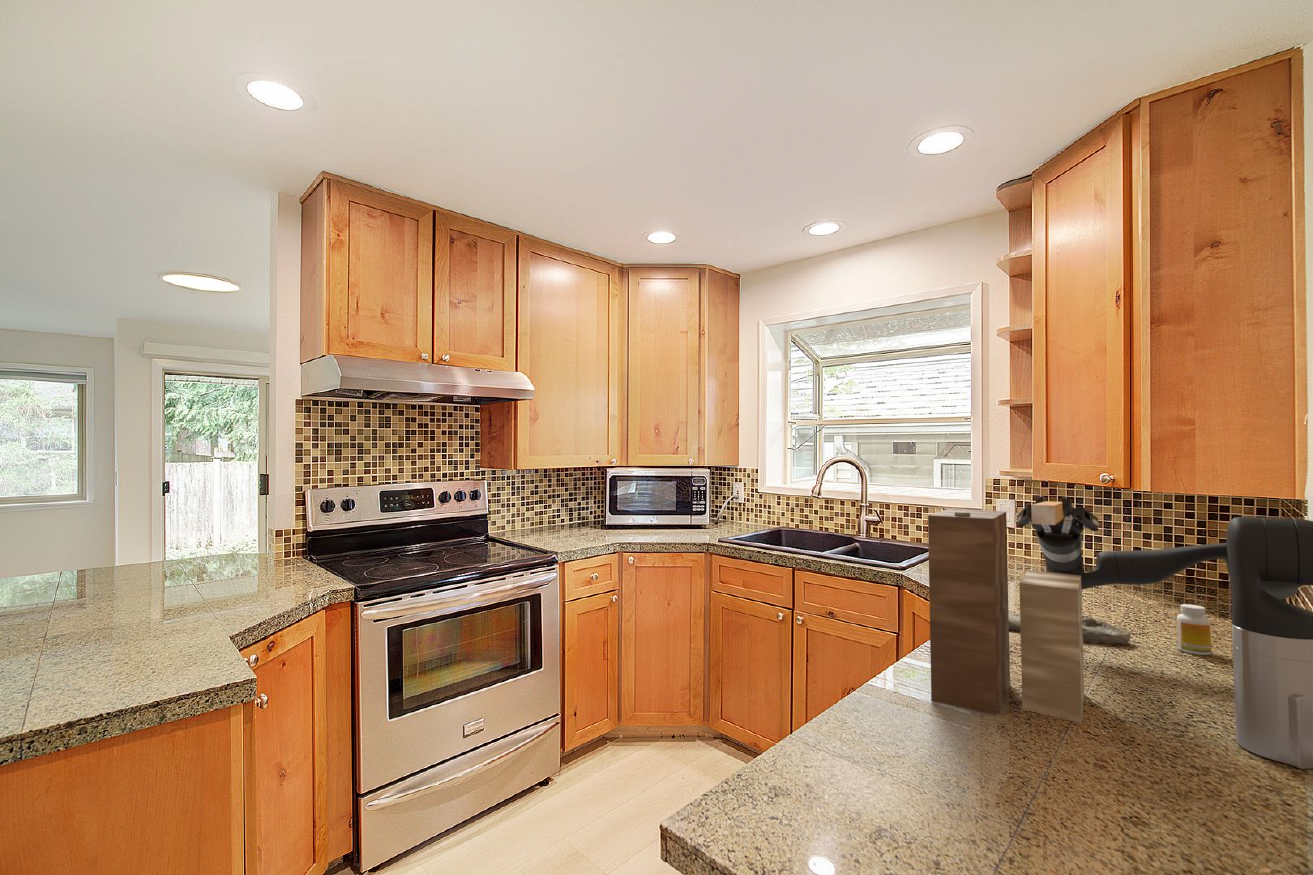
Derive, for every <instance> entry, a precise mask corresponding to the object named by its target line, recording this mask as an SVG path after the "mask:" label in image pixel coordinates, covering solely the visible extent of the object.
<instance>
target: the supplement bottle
mask: <svg viewBox="0 0 1313 875" xmlns="http://www.w3.org/2000/svg"><path fill="white" fill-rule="evenodd" d="M1180 612H1181V613H1180V614H1178V615H1177V616H1176V635H1177V640H1176V641H1177V649H1178V650H1179V651H1181V652H1184V653H1188V654H1191V655H1198V656H1210V655H1211V654H1212V638H1211V637H1212V635H1211V633H1212V632H1211V621H1210V619H1209V618H1208V617H1206V616H1205V615H1206V613H1207V612H1206V608H1205V607H1204V606H1201V605H1196V604H1188V603H1183V604H1180Z"/></svg>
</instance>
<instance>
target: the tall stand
mask: <svg viewBox="0 0 1313 875" xmlns="http://www.w3.org/2000/svg"><path fill="white" fill-rule="evenodd" d="M1007 524H1008V522H1007V511H1005V510H1003V511H1002V510H1001V511H1000V510H999V511H997V510H981V509H979V510H977V509H958V508H957V509H956V508H946V509H943V510H940V511H937V512H934V513H931V514H928V515H927V529H928V530H927V532H928V534H927V537H928V541H927V542H928V582H929V583H928V588H929V589H928V593H929V635H930V636H929V638H930V639H929V641H930V642H929V643H930V644H929V645H930V647H929V650H930V653H929V654H930V692H931V693H930V696H931V698H930V700H931V701H932V702H936V703H940V704H941V703H942V704H946V705H950V706H954V707H958V708H963V709H967V710H972V711H976V712H980V713H984V714H988V715H993V716H999V712H1000V711H1001V708H1002V706H1003V704H1004V701H1005V698H1006V697H1007V694H1008V692H1009V689H1010V687H1011V665H1010V664H1011V662H1010V660H1011V659H1010V658H1011V657H1010V630H1009V613H1010V611H1009V609H1010V608H1009V576H1008V575H1009V572H1008V571H1009V570H1008V567H1009V566H1008V532H1007V531H1008V530H1007V528H1008V527H1007V526H1008V525H1007Z"/></svg>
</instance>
